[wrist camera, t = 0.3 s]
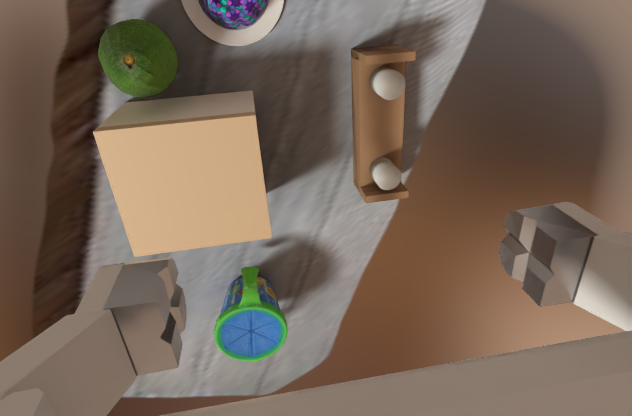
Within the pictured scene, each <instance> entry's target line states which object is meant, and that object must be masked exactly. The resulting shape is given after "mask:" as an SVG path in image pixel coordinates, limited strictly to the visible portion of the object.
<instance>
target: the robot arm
mask: <svg viewBox="0 0 632 416" xmlns="http://www.w3.org/2000/svg"><path fill="white" fill-rule="evenodd" d="M504 228H505V229H506V231H507V232H508V234H507V235H506V236H505V237H504V239H503V240H502V241H501V244H500V251H499V254H500V259H501V263H502V266H503V267H504V269H505V271H506V272H507V273H508V274H509V275H510V276H511V277H512V278H514V279H517V280H519V281H522V282H523V286H522V289H523V290H524V291H525V292H526V293H527V294H528V295H529V296H530V297H531V298H532V299H533V300H534V301H535V302H536V303H537V304H538V305H539V306H540V307H542V306H549V305H556V304H563V303H570V302H574V304H575V305H577V306H579V307H581V308H583V309H585V310H587V311H589V312H591V313H593V314H594V315H596V316H598V317H600V318H602V319H604V320H606V321H608V322H610V323H612V324H614V325H616V326H617V327H619V328H621V329H623V330H625V332H620V333H614V334H608V335H603V336H598V337H592V338H586V339H581V340H575V341H570V342H564V343H559V344H553V345H547V346H542V347H536V348H531V349H525V350H520V351H514V352H509V353H503V354H498V355H492V356H487V357H481V358H476V359H470V360H464V361H459V362H453V363H448V364H443V365H437V366H431V367H426V368H421V369H415V370H410V371H404V372H399V373H394V374H388V375H382V376H377V377H371V378H366V379H360V380H355V381H349V382H344V383H338V384H333V385H327V386H322V387H316V388H311V389H305V390H299V391H294V392H288V393H283V394H278V395H272V396H266V397H261V398H255V399H250V400H244V401H238V402H233V403H227V404H222V405H216V406H211V407H205V408H200V409H195V410H189V411H183V412H178V413H172V414H166V415H161V416H632V233H630V232H622V233H621V232H619V231H617V230H616V229H614V228H613V227H611V226H609V225H608V224H606V223H604V222H603V221H601V220H599V219H598V218H596V217H595V216H593V215H591V214H590V213H588V212H587V211H585V210H583V209H582V208H580V207H578V206H577V205H575V204H573V203H569V202H563V203H558V204H552V205H547V206H541V207H535V208H528V209H523V210H516V211H510V212H509V213H508V215H507V216H506V218H505V222H504ZM177 276H178V271H177V267H176V264H175V261H174V260H173V259H172V258H163V259H155V260H147V261H138V262H130V263H120V264H114V265H107V266H103V267H100V268H99V269H98V271H97V273H96V275H95V277H94V278H93V280H92V282H91V284H90V286H89V288H88V290H87V292H86V293H85V295H84V297H83V299H82V301H81V303H80V305H79V306H78V308H77V310H76V312H75V314H73V315H67V316H65V317H64V318H62V319H61V320H60V321H58V322H57V323H55V324H54V325H52V326H51V327H50V328H48V329H47V330H45V331H44V332H42V333H41V334H40V335H38V336H37V337H35V338H34V339H32V340H31V341H30V342H28V343H27V344H25V345H24V346H22V347H21V348H20V349H18V350H17V351H15V352H14V353H13V354H11V355H10V356H8V357H7V358H5V359H4V360H3V361H1V362H0V416H106V415H107V414H108V413H109V411H110V410H111V409H112V408H113V407H114V405H115V404H116V403H117V402H118V400H119V399H120V398H121V397H122V396H123V394H124V393H125V392H126V391H127V390H128V388H129V387H130V386H131V385H132V383H133V382H134V381H135V380H136V379H137V376H138V375H143V374H149V373H154V372H159V371H164V370H169V369H174V368H178V366H179V360H180V354H181V349H182V341H181V337H180V333H181V332H182V331H183V330H184V329H185V325H186V302H185V296H184V293H183V289H182V288H181V287H180V286H178V285H177V284H176V281H177Z"/></svg>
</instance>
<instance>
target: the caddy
mask: <svg viewBox="0 0 632 416" xmlns="http://www.w3.org/2000/svg"><path fill="white" fill-rule="evenodd" d="M415 59H416V51H413V50H410V49H407V48H404V47H400V46H397V45H390V46H379V47H367V48H356V49H351V67H352V120H353V174H354V184H355V186H356V187H357V189H358V191H359V192H360V194H361V196H362V197H363V199H364V201H365V202H366V203H371V202H378V201H386V200H394V199H401V198H408V190H407V189H406V188H405V186H404V185H403V184H402V183H401V171H402V147H403V124H404V100H405V76H406V61H415Z"/></svg>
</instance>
